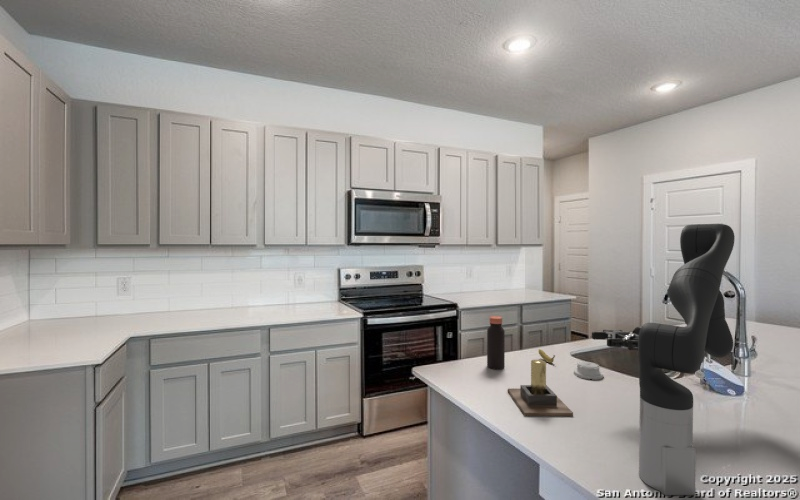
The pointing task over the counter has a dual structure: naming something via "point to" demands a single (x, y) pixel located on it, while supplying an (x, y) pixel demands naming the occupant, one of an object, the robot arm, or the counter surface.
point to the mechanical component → (588, 371)
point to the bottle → (495, 344)
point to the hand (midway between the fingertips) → (599, 338)
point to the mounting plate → (539, 402)
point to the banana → (546, 356)
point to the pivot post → (538, 377)
